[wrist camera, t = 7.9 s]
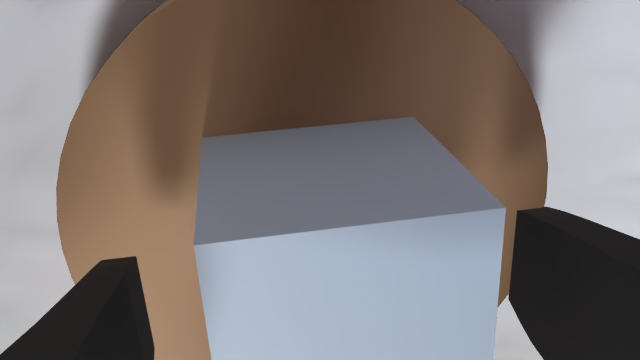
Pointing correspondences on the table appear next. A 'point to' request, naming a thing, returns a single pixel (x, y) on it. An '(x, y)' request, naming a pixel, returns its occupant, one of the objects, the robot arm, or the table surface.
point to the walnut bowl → (276, 122)
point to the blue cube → (345, 246)
